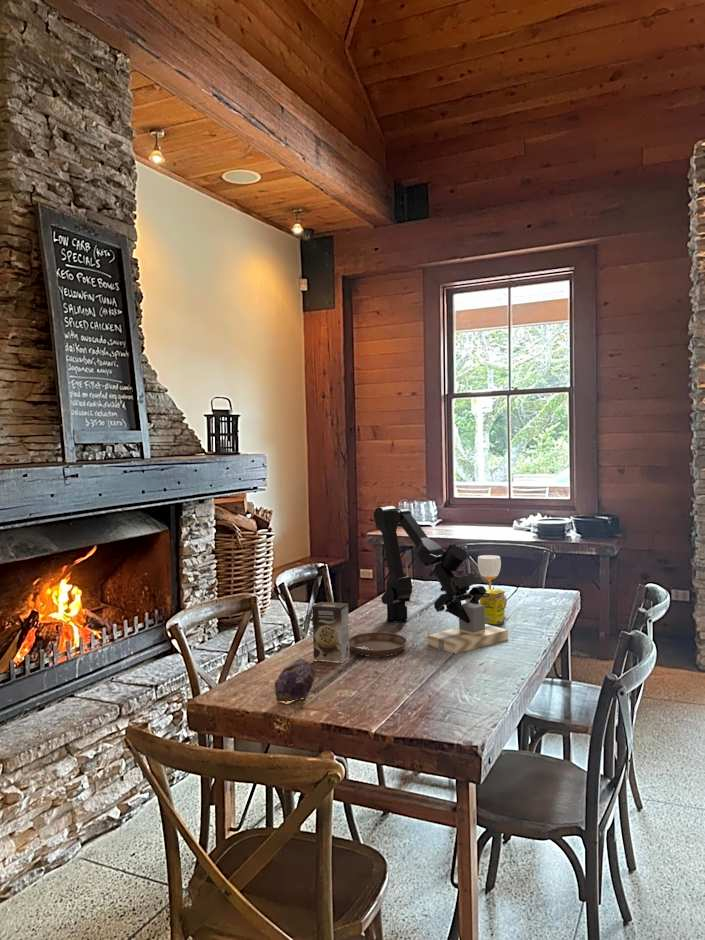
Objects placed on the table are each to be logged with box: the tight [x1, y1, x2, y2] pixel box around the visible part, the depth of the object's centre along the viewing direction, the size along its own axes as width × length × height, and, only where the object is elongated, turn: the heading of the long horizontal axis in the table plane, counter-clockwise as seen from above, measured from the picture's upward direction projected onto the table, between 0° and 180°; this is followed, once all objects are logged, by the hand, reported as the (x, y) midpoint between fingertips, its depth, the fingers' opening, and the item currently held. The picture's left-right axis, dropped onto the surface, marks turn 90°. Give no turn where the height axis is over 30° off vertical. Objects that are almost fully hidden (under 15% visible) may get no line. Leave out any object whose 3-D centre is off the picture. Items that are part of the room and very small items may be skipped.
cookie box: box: [311, 601, 350, 662], centre depth 208 cm, size 9×6×16 cm
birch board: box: [427, 624, 509, 655], centre depth 221 cm, size 22×12×3 cm, turn 125°
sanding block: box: [458, 602, 485, 635], centre depth 222 cm, size 6×5×8 cm
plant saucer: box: [349, 631, 408, 657], centre depth 217 cm, size 18×18×3 cm
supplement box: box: [480, 588, 505, 627], centre depth 241 cm, size 6×6×11 cm
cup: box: [477, 554, 502, 589], centre depth 276 cm, size 9×9×16 cm
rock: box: [274, 658, 316, 702], centre depth 179 cm, size 12×9×10 cm
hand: (475, 620), depth 221 cm, fingers closed on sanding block, 5 cm apart
